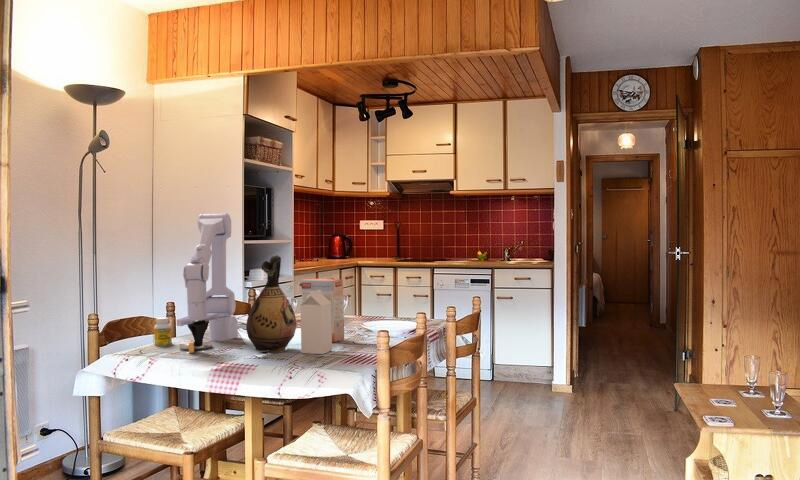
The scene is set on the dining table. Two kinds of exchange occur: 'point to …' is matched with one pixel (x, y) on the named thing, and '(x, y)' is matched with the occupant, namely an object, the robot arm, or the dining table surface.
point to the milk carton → (316, 324)
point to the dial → (192, 348)
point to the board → (214, 348)
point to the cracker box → (334, 294)
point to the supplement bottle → (162, 332)
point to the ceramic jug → (271, 314)
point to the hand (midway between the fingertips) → (198, 346)
